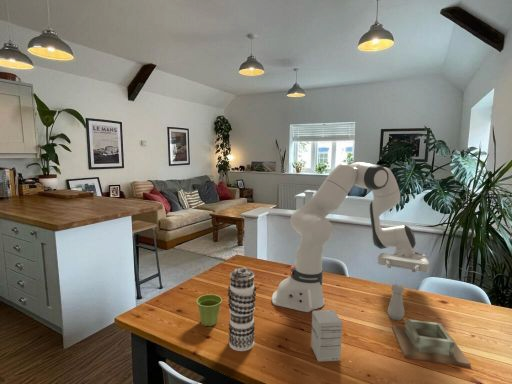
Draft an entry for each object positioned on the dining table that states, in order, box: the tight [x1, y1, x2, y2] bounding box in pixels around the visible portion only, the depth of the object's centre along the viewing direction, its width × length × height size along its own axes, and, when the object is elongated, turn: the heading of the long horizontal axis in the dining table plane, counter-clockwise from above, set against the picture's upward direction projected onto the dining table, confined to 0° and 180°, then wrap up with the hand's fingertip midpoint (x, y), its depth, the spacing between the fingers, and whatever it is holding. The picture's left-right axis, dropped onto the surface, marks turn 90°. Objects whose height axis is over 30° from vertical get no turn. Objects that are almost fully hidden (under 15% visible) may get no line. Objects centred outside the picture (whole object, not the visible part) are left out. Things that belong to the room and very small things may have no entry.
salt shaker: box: [387, 283, 405, 321], centre depth 111 cm, size 6×6×13 cm
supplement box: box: [310, 309, 343, 362], centre depth 90 cm, size 7×7×13 cm
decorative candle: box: [227, 267, 257, 352], centre depth 94 cm, size 9×9×25 cm
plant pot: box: [195, 293, 223, 327], centre depth 107 cm, size 9×9×9 cm
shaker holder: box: [391, 318, 472, 368], centre depth 95 cm, size 18×16×6 cm
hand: (401, 268), depth 120 cm, fingers open, 8 cm apart
